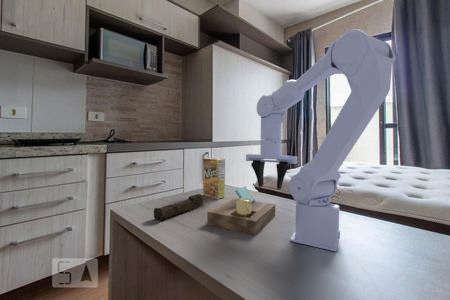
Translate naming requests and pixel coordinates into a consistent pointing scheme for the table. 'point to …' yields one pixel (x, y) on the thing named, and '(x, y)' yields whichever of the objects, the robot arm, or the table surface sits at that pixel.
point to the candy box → (214, 177)
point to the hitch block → (228, 219)
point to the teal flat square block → (244, 194)
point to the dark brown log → (178, 207)
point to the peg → (243, 207)
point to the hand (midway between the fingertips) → (269, 187)
